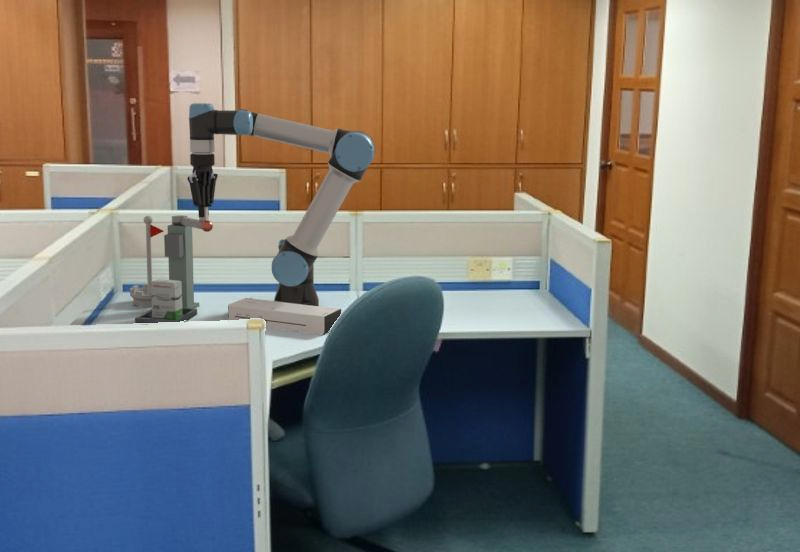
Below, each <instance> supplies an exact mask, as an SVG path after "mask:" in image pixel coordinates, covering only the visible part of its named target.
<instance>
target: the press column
mask: <svg viewBox="0 0 800 552" xmlns="http://www.w3.org/2000/svg"><path fill="white" fill-rule="evenodd" d="M163 238H164V239H163V240H164V241H163V242H164V244H163V245H164V258H168V259H167V260H168V280H176V281H181V284H182V308H190V309H197V308H199V307H200V302H195V293H194V292H195V291H194V290H195V289H194V248H193V247H194V246H193V245H194V244H193V227H189V226H185V225H174V224H172V223H171V224H169V225H167V234H164V235H163Z"/></svg>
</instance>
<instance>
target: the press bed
mask: <svg viewBox="0 0 800 552" xmlns="http://www.w3.org/2000/svg"><path fill="white" fill-rule="evenodd" d="M182 310H183V316H181V317H180V318H178V319H163V318H153V317H152V308H151V309H149V310H146V311H145V312H143V313H142V314H140V315H138V316H136V317H135V318H134V324H135V323H158V322H180V321H184V320H187V321H189V320H190V319H192V318H194V317H196V316H197V315H198V309H197V308H196V309H190V308H182Z"/></svg>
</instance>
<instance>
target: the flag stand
mask: <svg viewBox="0 0 800 552" xmlns="http://www.w3.org/2000/svg"><path fill="white" fill-rule="evenodd" d="M153 221H154V220H153V217H152V216H150V215H145V216H144V217H143V223H144V224H145V237H146V238H145V240H146V242H145V243H146V246H145V247H146V272H147V273H146V274H147V283H142V287H139V285H133V286H131V287H130V288H129V296H130V297H131V298H132V299H133V305H134V306H135V307H140V306H143V307H142V308H152V299H151V282H152V281H153V269H152V268H153V265H152V264H153V263H152V260H153V259H152V238H153V237H155V236H156V235H159V234H161V233H163V232H164V230H163V229H160V228H159V227H157V226H155V225H153V224H152V223H153Z"/></svg>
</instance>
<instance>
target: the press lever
mask: <svg viewBox="0 0 800 552" xmlns="http://www.w3.org/2000/svg"><path fill="white" fill-rule="evenodd" d="M171 224H174V225H185V226H189V227H192V228H195V229H199V230H202V231H203V232H205V233H207V232H211V231H212V230H213V228H214V225H213V222H212V221H210V220H209V221H208V220H206V221H201V220H199V219H196V218H191V217H188V215H182V214H181V215H173V216H171Z"/></svg>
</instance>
